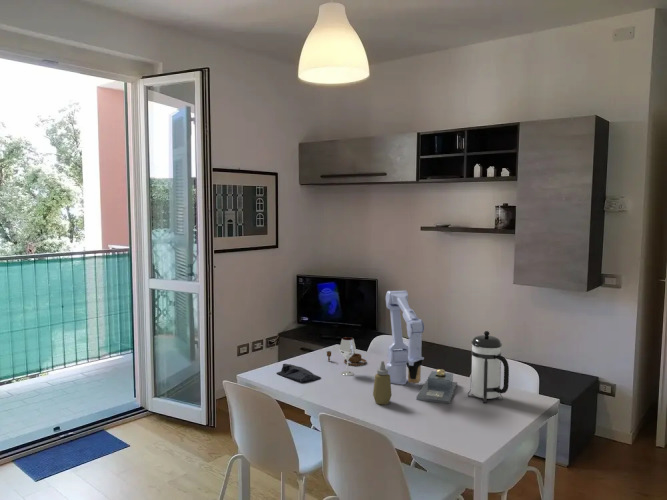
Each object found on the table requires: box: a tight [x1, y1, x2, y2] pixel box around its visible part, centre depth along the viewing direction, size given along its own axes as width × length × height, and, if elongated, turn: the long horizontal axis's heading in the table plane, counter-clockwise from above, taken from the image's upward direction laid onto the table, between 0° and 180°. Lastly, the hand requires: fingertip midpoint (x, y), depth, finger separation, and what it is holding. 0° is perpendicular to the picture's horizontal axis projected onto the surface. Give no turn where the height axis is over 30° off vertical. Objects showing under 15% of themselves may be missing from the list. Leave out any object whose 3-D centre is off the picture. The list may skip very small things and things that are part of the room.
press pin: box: [436, 368, 446, 377], centre depth 235 cm, size 4×4×3 cm
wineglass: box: [339, 336, 357, 377], centre depth 253 cm, size 8×8×18 cm
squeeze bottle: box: [372, 360, 393, 406], centre depth 215 cm, size 8×8×18 cm
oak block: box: [407, 366, 422, 384], centre depth 222 cm, size 4×4×6 cm
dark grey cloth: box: [276, 363, 322, 383], centre depth 250 cm, size 15×22×5 cm
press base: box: [415, 371, 458, 405], centre depth 228 cm, size 14×26×5 cm, turn 159°
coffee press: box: [467, 330, 510, 404], centre depth 219 cm, size 17×16×30 cm
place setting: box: [326, 350, 367, 367], centre depth 275 cm, size 18×20×6 cm
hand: (414, 377), depth 222 cm, fingers closed on oak block, 4 cm apart
